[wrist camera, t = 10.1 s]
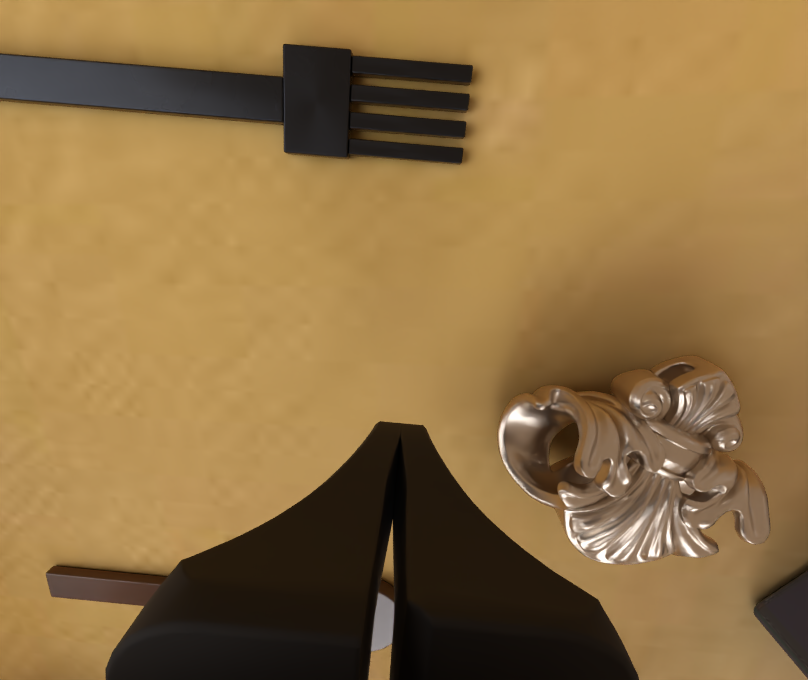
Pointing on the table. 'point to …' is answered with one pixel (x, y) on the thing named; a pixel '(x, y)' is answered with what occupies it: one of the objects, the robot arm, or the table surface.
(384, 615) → the brown disc-ended stick
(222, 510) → the table surface
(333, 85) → the black fork
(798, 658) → the calculator
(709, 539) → the ornament
